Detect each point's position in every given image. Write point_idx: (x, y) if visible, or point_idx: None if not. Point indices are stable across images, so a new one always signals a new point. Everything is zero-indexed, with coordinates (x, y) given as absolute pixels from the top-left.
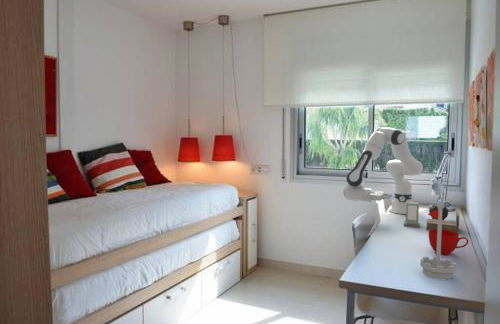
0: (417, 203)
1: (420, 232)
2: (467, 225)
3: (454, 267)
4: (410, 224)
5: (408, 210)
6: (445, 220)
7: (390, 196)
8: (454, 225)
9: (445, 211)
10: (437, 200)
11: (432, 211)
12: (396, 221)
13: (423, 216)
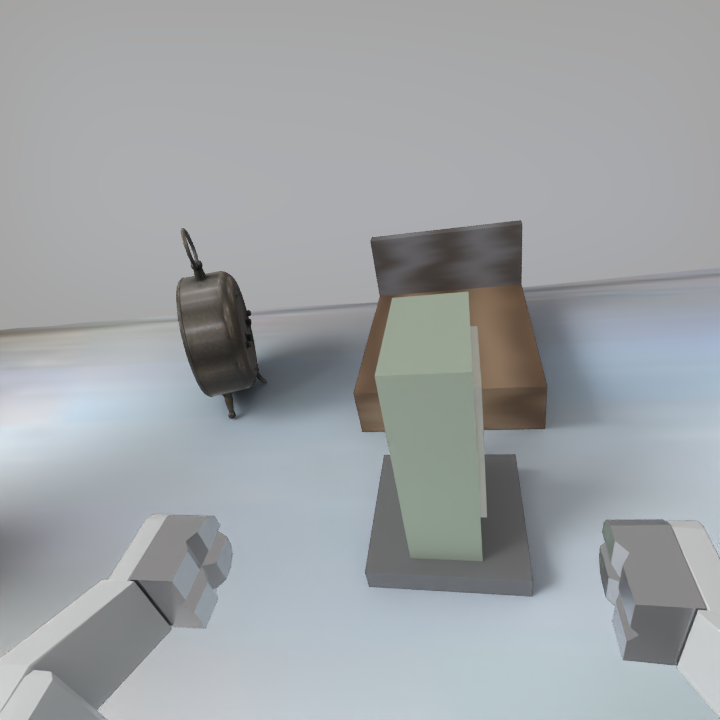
0: (439, 300)
1: (703, 457)
2: (311, 306)
3: None
4: (515, 518)
5: (483, 432)
6: (379, 324)
7: (218, 562)
8: (514, 290)
9: (242, 303)
10: (191, 257)
11: (240, 347)
12: (292, 685)
13: (66, 461)
